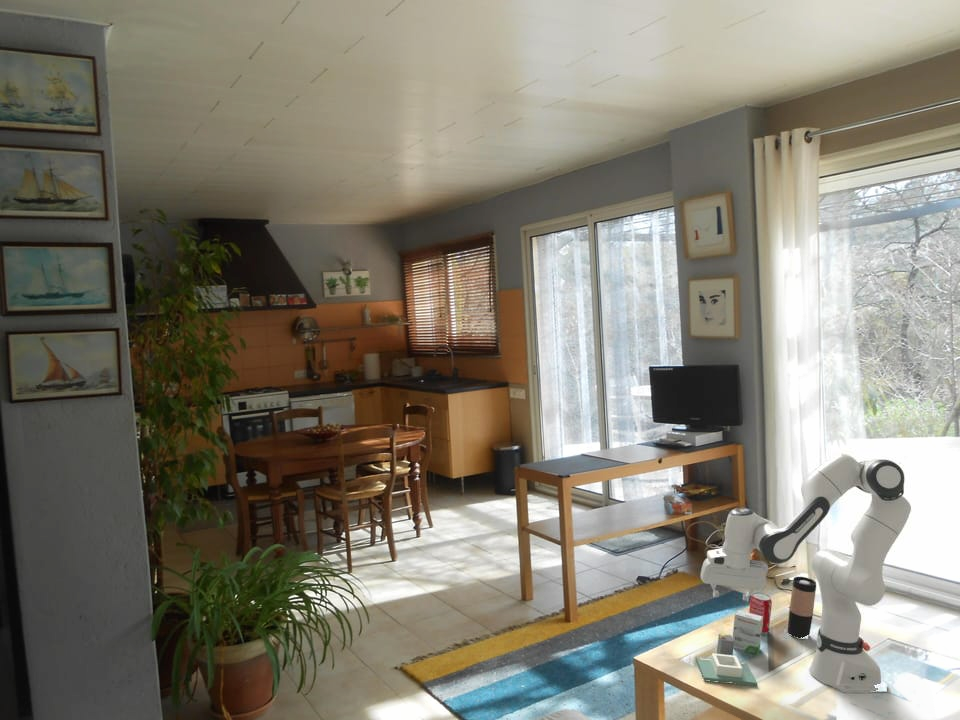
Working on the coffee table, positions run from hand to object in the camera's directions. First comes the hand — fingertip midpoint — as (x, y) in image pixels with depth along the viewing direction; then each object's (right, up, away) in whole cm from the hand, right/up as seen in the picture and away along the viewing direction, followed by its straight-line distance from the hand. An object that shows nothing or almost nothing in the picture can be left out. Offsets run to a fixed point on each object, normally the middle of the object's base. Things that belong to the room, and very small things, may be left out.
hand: (730, 598), depth 242 cm
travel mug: (+31, -20, +22) cm, 43 cm away
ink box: (+8, -20, +10) cm, 24 cm away
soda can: (+18, -19, +23) cm, 35 cm away
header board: (-4, -21, -7) cm, 23 cm away
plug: (-1, -20, +3) cm, 21 cm away
